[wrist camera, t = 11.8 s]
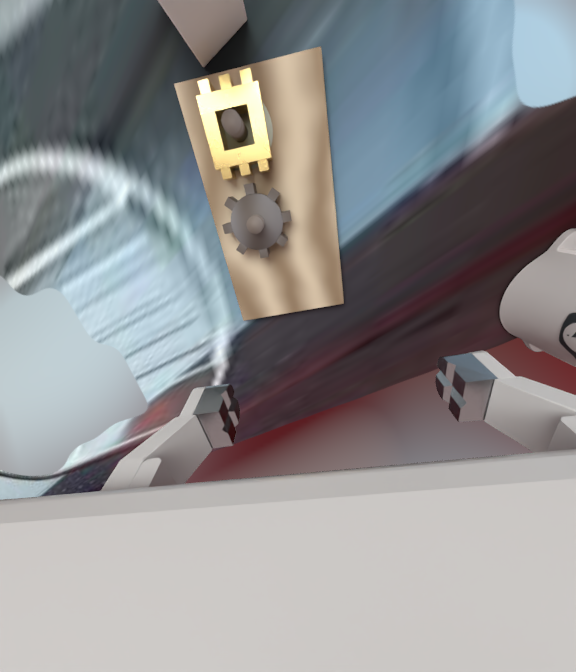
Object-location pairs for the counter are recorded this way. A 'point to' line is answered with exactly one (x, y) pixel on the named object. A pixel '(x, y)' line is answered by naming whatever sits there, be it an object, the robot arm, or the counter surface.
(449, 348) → the counter surface
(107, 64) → the counter surface
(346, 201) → the counter surface
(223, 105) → the toothed rectangular frame
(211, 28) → the milk
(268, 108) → the gear board
